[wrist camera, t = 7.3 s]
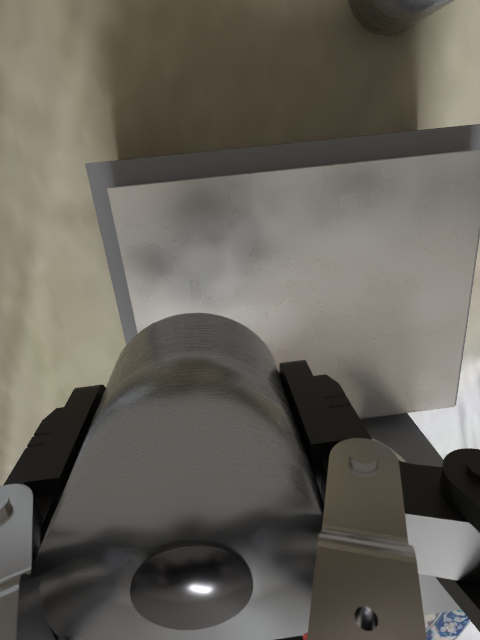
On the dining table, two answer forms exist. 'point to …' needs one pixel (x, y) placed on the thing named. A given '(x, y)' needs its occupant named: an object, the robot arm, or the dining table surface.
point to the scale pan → (320, 266)
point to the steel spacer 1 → (186, 497)
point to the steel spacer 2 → (393, 13)
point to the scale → (102, 175)
